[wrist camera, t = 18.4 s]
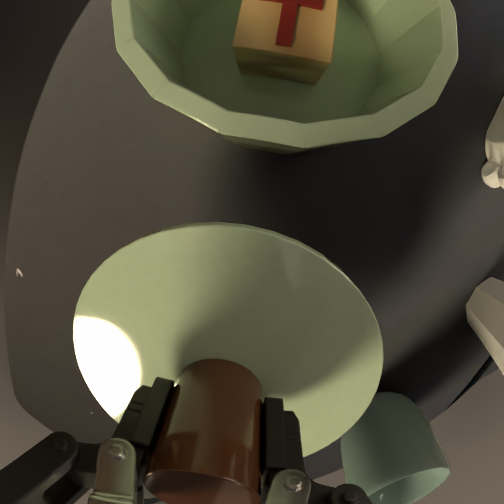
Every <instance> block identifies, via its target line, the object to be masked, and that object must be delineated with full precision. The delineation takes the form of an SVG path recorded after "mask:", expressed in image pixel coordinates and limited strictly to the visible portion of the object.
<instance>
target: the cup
mask: <svg viewBox="0 0 504 504" xmlns="http://www.w3.org/2000/svg"><path fill="white" fill-rule="evenodd" d="M340 447H341V456H342V464H343V470H344V476H345V481H346V484H355V485H357V486H359V487H361V488H362V489H363V490H364V492H365V493H366V494H367V496H368V497H369V499H370V500H371V502H372V503H373V504H411V503H413V502H415V501H417V500H419V499H421V498H422V497H424V496H425V495H427V494H429V493H430V492H432V491H433V490H434V489H436V488H437V487H438V486H439V485H441V484H442V483H443V482H444V481H445V479H446V478H447V477H448V475H449V474H450V464H449V461H448V459H447V457H446V455H445V452H444V451H443V448H442V446H441V444H440V442H439V440H438V438H437V436H436V434H435V432H434V430H433V428H432V427H431V425H430V423H429V422H428V420H427V418H426V417H425V415H424V414H423V413H422V411H421V410H420V409H419V407H418V406H417V405H416V404H415V403H414V402H413V401H412V400H411V399H409V398H408V397H406V396H405V395H402V394H400V393H397V392H379V393H375V395H374V397H373V399H372V401H371V403H370V405H369V406H368V408H367V409H366V411H365V412H364V413H363V415H362V416H361V417H360V418H359V420H358V421H357V422H356V423H355V424H354V425H353V426H352V427H351V428H350V429H349V430H348V431H347V432H345V433H344V434H343V435H342V436H341V437H340Z"/></svg>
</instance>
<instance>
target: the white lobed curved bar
mask: <svg viewBox="0 0 504 504" xmlns="http://www.w3.org/2000/svg"><path fill="white" fill-rule="evenodd" d="M485 151H486V156H487V160H488V162H486V163H485V164H484V166H483V167H482V170H481V175H482V178H483V181H484V182H485V184H487V185H488V186H490V187H491V188H498V187H499V186H501V187H502V188H503V189H504V96H503V98H502V100H501V102H500V104H499V106H498V109H497V111H496V113H495V115H494V117H493V119H492V121H491V123H490V125H489V127H488V130H487V133H486V138H485Z"/></svg>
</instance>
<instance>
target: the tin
mask: <svg viewBox="0 0 504 504" xmlns="http://www.w3.org/2000/svg"><path fill="white" fill-rule="evenodd" d="M111 3H112V15H113V25H114V35H115V43H116V49H117V52H118V53H119V55H120V56H121V57H122V59H123V60H124V61H125V63H126V64H127V65H128V67H129V68H130V69H131V71H132V72H133V73H134V74H135V76H136V77H137V78H138V80H139V81H140V82H141V84H142V85H143V86H144V88H145V89H146V90H147V92H148V93H149V94H150V96H151V97H153V98H154V99H155V100H157V101H159V102H161V103H163V104H165V105H167V106H168V107H170V108H172V109H174V110H176V111H178V112H179V113H181V114H183V115H185V116H187V117H188V118H190V119H192V120H194V121H195V122H197V123H199V124H201V125H202V126H204V127H206V128H208V129H210V130H211V131H213V132H215V133H217V134H218V135H220V136H222V137H224V138H225V139H227V140H229V141H231V142H232V143H234V144H236V145H237V146H240V147H243V148H249V149H256V150H261V151H267V152H273V153H278V154H284V155H289V154H294V153H300V152H305V151H311V150H316V149H322V148H328V147H333V146H338V145H343V144H348V143H353V142H358V141H364V140H369V139H375V138H381V137H384V136H386V135H387V134H389V133H391V132H392V131H394V130H395V129H397V128H398V127H400V126H402V125H403V124H405V123H406V122H408V121H409V120H411V119H413V118H414V117H416V116H417V115H419V114H421V113H422V112H424V111H425V110H427V109H429V108H430V107H432V106H434V105H435V103H436V102H437V100H438V98H439V96H440V94H441V93H442V91H443V89H444V87H445V85H446V83H447V81H448V79H449V77H450V75H451V73H452V71H453V69H454V67H455V65H456V63H457V61H458V38H457V24H456V14H455V11H454V7H453V5H452V3H451V1H450V0H338V10H337V20H336V30H335V39H334V47H333V56H332V62H331V64H330V65H329V67H328V68H327V69H326V71H325V72H324V74H323V75H322V77H321V78H320V79H319V81H318V82H317V84H316V85H315V86H314V85H309V84H304V83H299V82H294V81H288V80H283V79H277V78H270V77H264V76H256V75H249V74H241V73H240V72H239V68H238V65H237V61H236V58H235V54H234V51H233V48H232V43H233V38H234V34H235V29H236V25H237V20H238V16H239V12H240V7H241V3H242V0H112V1H111Z"/></svg>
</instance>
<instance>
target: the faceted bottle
mask: <svg viewBox="0 0 504 504" xmlns="http://www.w3.org/2000/svg"><path fill="white" fill-rule="evenodd" d="M466 315H467V322H468V323H469V325H470V326H471V327H472V329H473V330H474V332H475V333H476V334H477V336H478V337H479V339H480V340H481V342H482V343H483V344H484V346H485V347H486V349H487V350H488V352H489V353H490V355H491V356H492V358H493V359H494V361H495V362H496V364H497V365H498V367H499V369H500V370H501V372H502V373H503V375H504V282H503V281H500V280H498V279H495V278H493V277H489V278H488V279H487V280H485V281H484V282H482V283H481V284H480V285H478V286H477V287H476V288H475V290H474V292H473V294H472V295H471V297H470V299H469V301H468V302H467V304H466Z"/></svg>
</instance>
